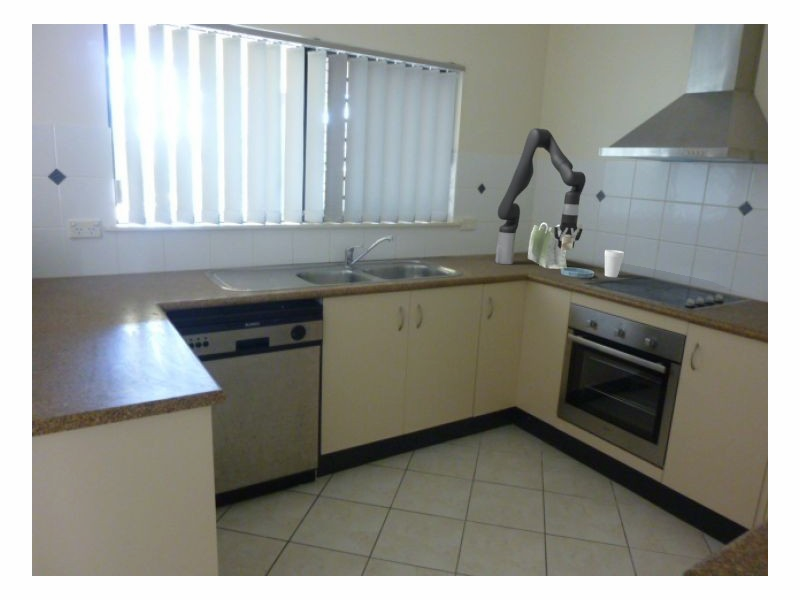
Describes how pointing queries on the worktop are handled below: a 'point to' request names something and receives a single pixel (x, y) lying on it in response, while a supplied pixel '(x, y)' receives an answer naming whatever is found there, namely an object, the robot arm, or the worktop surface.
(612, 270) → the foam cup
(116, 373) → the worktop surface
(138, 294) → the worktop surface
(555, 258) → the grocery bag
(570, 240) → the ash block
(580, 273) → the dish
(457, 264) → the worktop surface
